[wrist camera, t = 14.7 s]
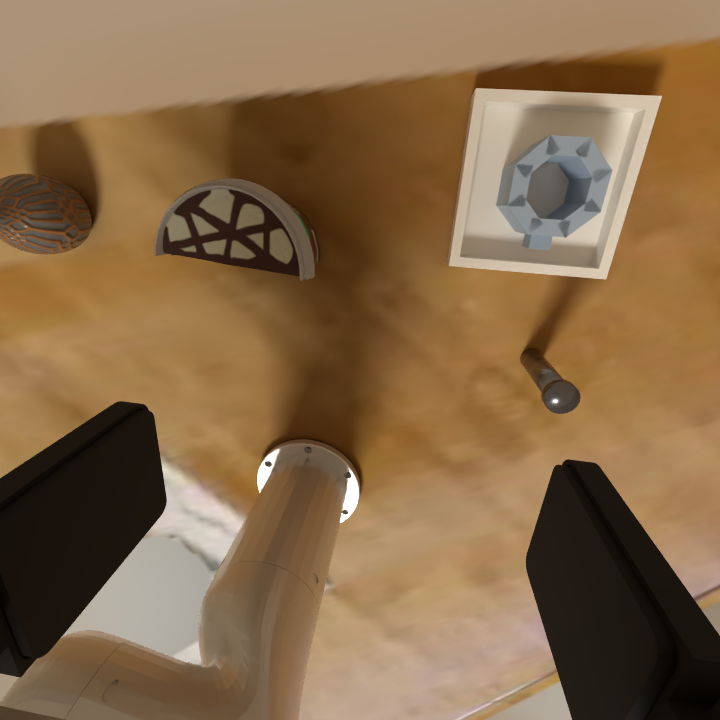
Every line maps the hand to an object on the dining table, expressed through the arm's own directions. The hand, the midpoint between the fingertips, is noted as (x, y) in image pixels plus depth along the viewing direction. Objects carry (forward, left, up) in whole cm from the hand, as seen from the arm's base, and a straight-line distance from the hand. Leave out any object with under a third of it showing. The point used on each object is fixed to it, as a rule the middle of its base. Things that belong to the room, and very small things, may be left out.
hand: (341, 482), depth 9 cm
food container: (+4, +12, -31) cm, 33 cm away
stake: (-7, -14, -30) cm, 34 cm away
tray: (+8, -11, -30) cm, 33 cm away
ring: (+8, -11, -30) cm, 33 cm away
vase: (+3, +33, -31) cm, 45 cm away
